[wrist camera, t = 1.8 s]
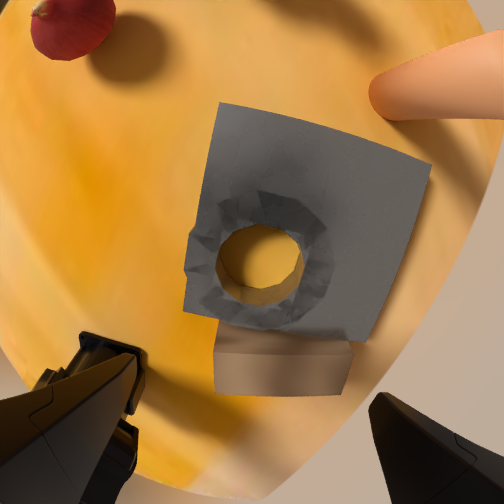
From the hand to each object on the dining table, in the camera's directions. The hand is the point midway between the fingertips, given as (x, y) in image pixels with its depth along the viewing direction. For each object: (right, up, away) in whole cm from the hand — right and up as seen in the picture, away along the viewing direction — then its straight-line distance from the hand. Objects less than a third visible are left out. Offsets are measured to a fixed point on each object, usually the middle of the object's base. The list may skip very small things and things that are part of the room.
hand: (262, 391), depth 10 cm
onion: (-12, +21, +6) cm, 25 cm away
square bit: (+2, -3, +15) cm, 16 cm away
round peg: (+9, +16, +8) cm, 20 cm away
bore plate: (+3, +6, +11) cm, 13 cm away
